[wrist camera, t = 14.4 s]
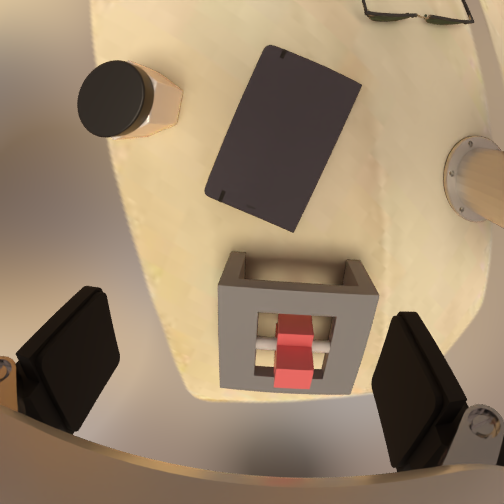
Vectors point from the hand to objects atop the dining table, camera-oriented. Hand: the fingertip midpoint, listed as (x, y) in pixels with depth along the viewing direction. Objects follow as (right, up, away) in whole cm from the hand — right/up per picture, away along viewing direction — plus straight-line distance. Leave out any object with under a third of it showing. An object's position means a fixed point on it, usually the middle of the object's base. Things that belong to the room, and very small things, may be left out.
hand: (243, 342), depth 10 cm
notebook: (+4, +17, +28) cm, 34 cm away
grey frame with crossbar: (+6, -5, +36) cm, 37 cm away
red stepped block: (+6, -6, +34) cm, 35 cm away
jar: (-13, +22, +28) cm, 38 cm away
